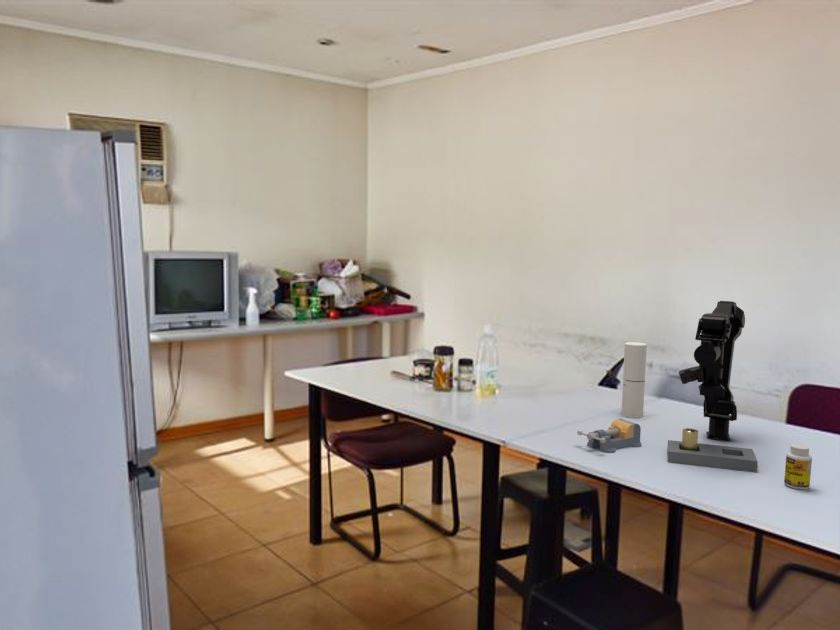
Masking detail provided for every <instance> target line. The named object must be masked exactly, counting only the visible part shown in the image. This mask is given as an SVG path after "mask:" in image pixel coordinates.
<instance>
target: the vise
mask: <svg viewBox="0 0 840 630" xmlns="http://www.w3.org/2000/svg"><path fill="white" fill-rule="evenodd" d="M641 430H642V429H641V425H640V424H639V423H637V422H636V423H635V422H632V421H628V420H626V419H622V418H617V419H614V420H613V421H612V422H611V424H610V426H609V427H608V429H606V430H604V429H603V428H602V429H596V430H594V431H589V432H588V433H585V432H583V431H582V430H581V429H578V430H577V432H576V433H577V435H578V436H582V435H583V436H586V439H587V440H588V441H587V443H586V446H587V447H589V448H592V449H593V448H598V447H600V452H603V453H606V454H615V453H616V452H617V450H620V449H626V448H630V447H632V448H640V447H642V442H641V434H642V433H641Z"/></svg>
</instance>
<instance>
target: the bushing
mask: <svg viewBox="0 0 840 630" xmlns="http://www.w3.org/2000/svg"><path fill="white" fill-rule="evenodd" d="M681 436H682V437H681V441H682V450H689V451H697V444H698V443H699V430H698V429H695V428H689V427H687V428H683V429H682V435H681Z"/></svg>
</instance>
